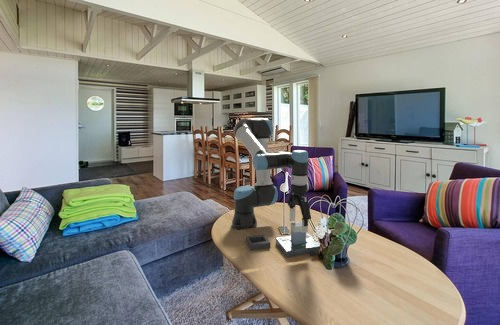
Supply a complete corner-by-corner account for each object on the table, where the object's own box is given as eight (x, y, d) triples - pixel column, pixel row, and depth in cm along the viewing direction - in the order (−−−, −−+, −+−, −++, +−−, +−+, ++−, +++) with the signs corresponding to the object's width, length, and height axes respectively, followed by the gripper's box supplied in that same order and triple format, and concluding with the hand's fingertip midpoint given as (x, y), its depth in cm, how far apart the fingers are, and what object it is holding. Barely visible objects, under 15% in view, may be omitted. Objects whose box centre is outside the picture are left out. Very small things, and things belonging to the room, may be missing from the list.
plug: (290, 246, 127) (290, 223, 125) (302, 244, 129) (302, 221, 127) (294, 250, 123) (294, 226, 121) (306, 248, 125) (306, 225, 123)
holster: (245, 243, 133) (245, 236, 133) (264, 240, 136) (264, 234, 135) (250, 252, 124) (250, 245, 123) (270, 249, 126) (270, 242, 126)
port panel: (275, 245, 130) (275, 236, 130) (308, 240, 135) (308, 232, 134) (286, 259, 117) (286, 249, 116) (322, 253, 122) (322, 244, 121)
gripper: (281, 178, 132) (281, 217, 135) (304, 191, 108) (302, 238, 112) (295, 177, 134) (294, 215, 137) (320, 189, 110) (318, 236, 114)
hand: (298, 226), depth 125 cm, fingers open, 13 cm apart
